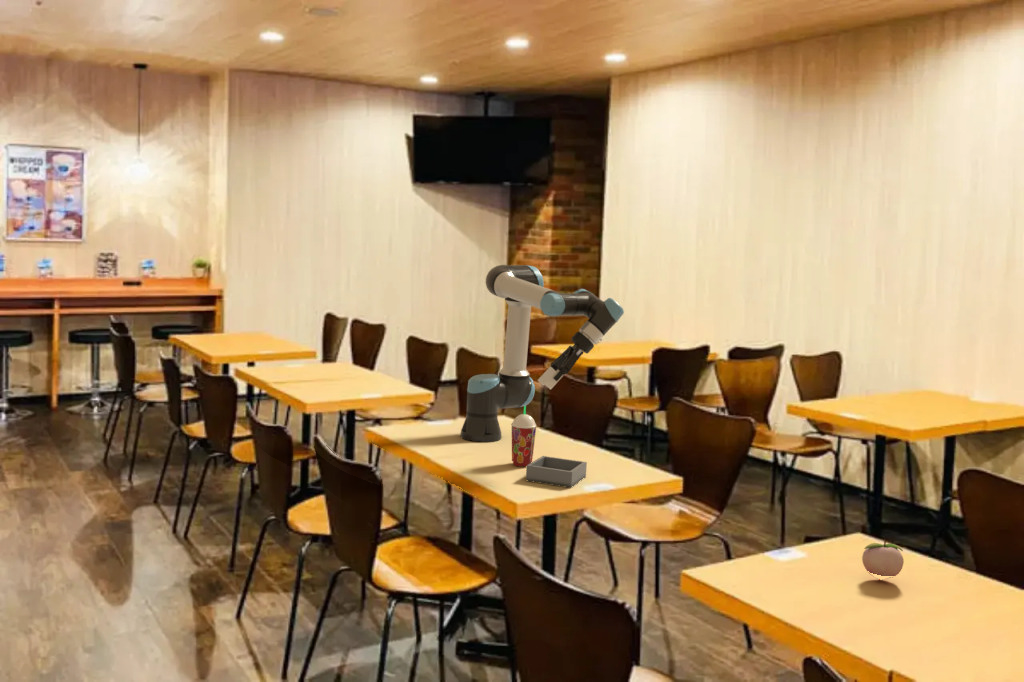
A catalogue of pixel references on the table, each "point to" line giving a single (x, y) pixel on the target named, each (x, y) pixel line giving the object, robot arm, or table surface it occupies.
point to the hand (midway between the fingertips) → (543, 385)
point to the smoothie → (523, 439)
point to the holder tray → (556, 471)
